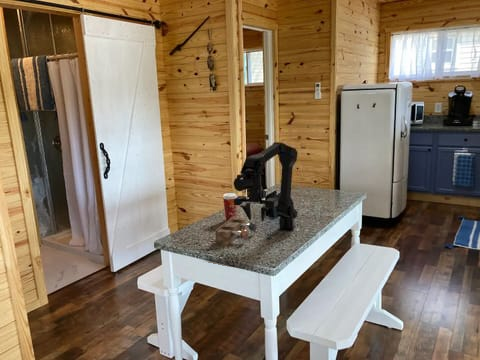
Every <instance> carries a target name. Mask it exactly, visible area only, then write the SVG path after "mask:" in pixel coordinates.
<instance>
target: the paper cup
mask: <svg viewBox="0 0 480 360" xmlns="http://www.w3.org/2000/svg"><path fill="white" fill-rule="evenodd" d="M236 197H238V195H237V193H234V192H228V193H224V194H223V196H222V200H223V206H224V207H223V208H224V214H225V215H224V216H225V221H226V222H227V221H228V220H230V219H231V218H232V217H234V216H236V217H237V215H238V210H237V209H238V205H234V199H235V198H236Z"/></svg>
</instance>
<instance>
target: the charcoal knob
mask: <svg viewBox="0 0 480 360" xmlns="http://www.w3.org/2000/svg"><path fill="white" fill-rule="evenodd" d="M239 224H240V228H246V229H247V230H250V231H249V232H256V231H257V227H258V225H257V222H253V221H251V222H249V223H246V224H245V223H239Z"/></svg>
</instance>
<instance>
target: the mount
mask: <svg viewBox="0 0 480 360" xmlns="http://www.w3.org/2000/svg"><path fill="white" fill-rule="evenodd" d="M239 223H245V224H247V222H246V218H245V217H239V216H238V217H236V216H234V217H232V218H231V219H230V220H228V221H226V222H224V223H223V224H222V225H220V226H219V227H218V228H216V229H215V243H216V245H224V246H229V245H231V244H232V243H233V242H234V241H236V240H237V238H238V237H239V236H234V235H231V232H230V230H233V231H242V230H247V228H240V224H239Z"/></svg>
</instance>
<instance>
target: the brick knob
mask: <svg viewBox="0 0 480 360" xmlns="http://www.w3.org/2000/svg"><path fill="white" fill-rule="evenodd" d="M230 232H231V235H234V236H238V237H240V238H241V239H243V240H248V239H249V229H246V230H242V231H233V230H230Z"/></svg>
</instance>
